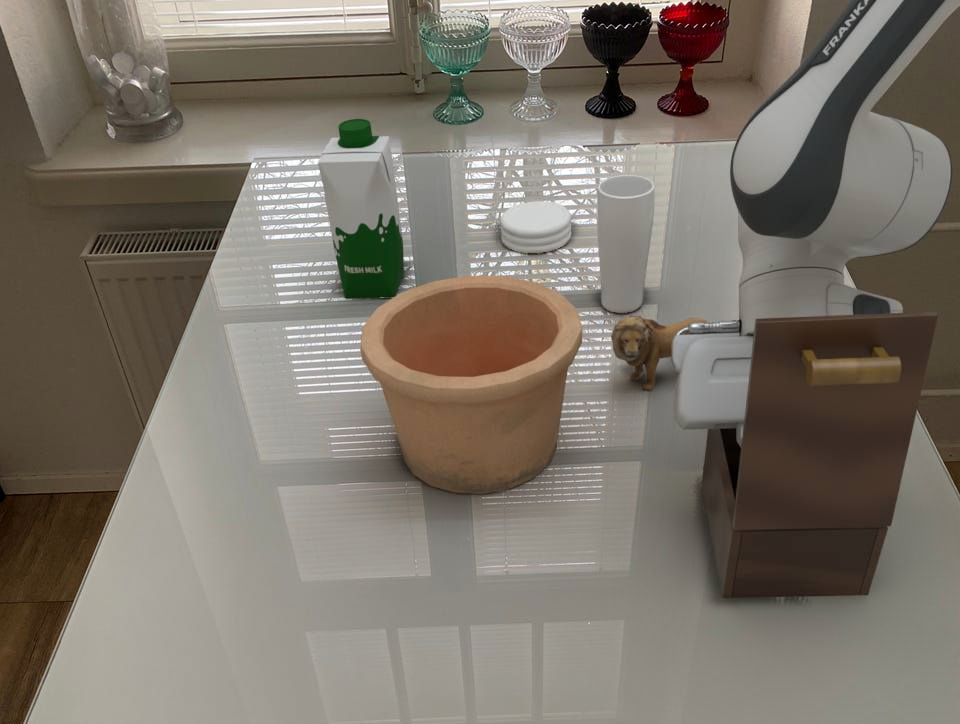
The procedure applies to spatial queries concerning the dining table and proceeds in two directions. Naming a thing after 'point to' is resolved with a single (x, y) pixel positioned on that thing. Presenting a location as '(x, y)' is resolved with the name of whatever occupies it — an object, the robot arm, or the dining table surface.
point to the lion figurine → (645, 344)
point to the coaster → (536, 227)
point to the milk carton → (363, 211)
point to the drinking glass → (624, 239)
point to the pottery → (474, 377)
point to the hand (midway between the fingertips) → (792, 476)
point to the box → (779, 542)
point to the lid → (830, 419)
